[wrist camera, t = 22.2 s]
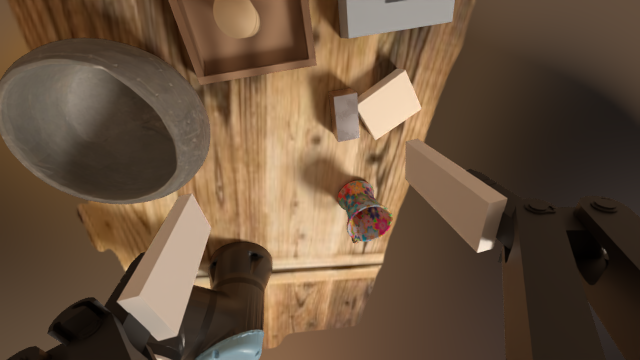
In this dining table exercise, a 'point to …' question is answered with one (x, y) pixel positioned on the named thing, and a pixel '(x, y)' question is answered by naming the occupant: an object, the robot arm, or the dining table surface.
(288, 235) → the dining table surface
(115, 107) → the bowl
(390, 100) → the cream rectangular block
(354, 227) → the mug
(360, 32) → the dowel block
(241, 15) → the dowel
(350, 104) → the block
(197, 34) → the tray
